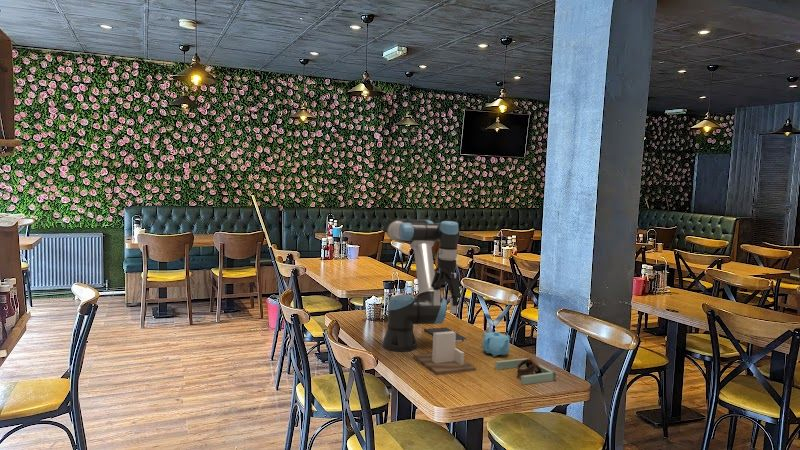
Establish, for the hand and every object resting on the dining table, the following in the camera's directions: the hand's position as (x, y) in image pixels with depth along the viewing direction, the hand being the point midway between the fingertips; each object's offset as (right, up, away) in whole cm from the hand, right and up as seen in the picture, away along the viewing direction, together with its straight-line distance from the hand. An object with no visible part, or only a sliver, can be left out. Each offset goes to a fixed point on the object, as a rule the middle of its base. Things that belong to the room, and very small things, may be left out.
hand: (444, 309), depth 235 cm
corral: (+31, -25, -9) cm, 41 cm away
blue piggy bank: (+25, -23, +17) cm, 38 cm away
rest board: (0, -23, 0) cm, 23 cm away
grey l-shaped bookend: (-1, -22, 0) cm, 22 cm away
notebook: (+4, -20, +43) cm, 48 cm away
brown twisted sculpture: (+33, -26, -11) cm, 43 cm away
